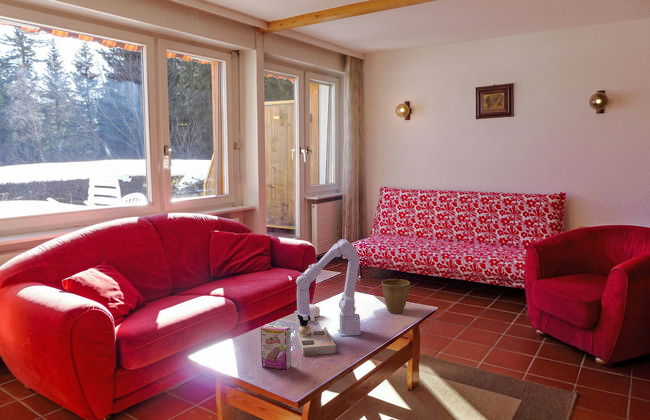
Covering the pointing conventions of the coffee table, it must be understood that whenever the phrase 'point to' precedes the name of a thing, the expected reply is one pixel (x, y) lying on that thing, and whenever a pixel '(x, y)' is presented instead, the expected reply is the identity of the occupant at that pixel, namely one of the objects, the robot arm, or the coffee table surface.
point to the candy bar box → (276, 346)
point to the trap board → (317, 343)
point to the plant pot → (395, 294)
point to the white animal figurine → (314, 311)
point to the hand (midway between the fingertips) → (303, 330)
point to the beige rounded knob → (304, 331)
